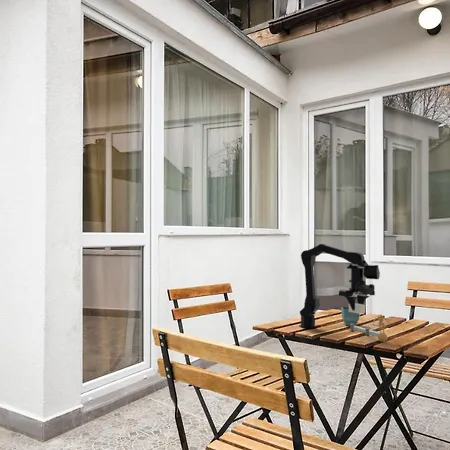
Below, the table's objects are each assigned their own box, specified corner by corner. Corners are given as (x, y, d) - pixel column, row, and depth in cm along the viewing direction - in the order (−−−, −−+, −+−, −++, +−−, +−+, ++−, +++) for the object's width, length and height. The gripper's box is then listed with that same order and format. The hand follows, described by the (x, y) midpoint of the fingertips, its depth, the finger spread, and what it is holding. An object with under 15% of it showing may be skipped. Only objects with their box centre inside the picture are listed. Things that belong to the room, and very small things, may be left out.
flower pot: (357, 323, 255) (357, 307, 256) (360, 326, 247) (360, 309, 247) (340, 323, 256) (341, 306, 256) (343, 326, 247) (343, 309, 248)
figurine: (375, 343, 207) (375, 315, 207) (370, 340, 213) (370, 313, 213) (393, 343, 208) (394, 316, 208) (387, 340, 214) (388, 314, 214)
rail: (371, 337, 219) (371, 330, 219) (344, 329, 238) (345, 322, 238) (382, 336, 222) (382, 329, 222) (354, 328, 240) (355, 322, 240)
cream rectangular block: (365, 313, 226) (365, 304, 226) (358, 313, 224) (358, 304, 224) (354, 311, 232) (354, 302, 232) (348, 311, 230) (348, 303, 230)
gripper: (354, 279, 217) (354, 313, 217) (383, 279, 226) (383, 311, 225) (338, 278, 227) (337, 310, 227) (366, 277, 236) (366, 308, 235)
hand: (356, 310), depth 228 cm, fingers closed on cream rectangular block, 4 cm apart
